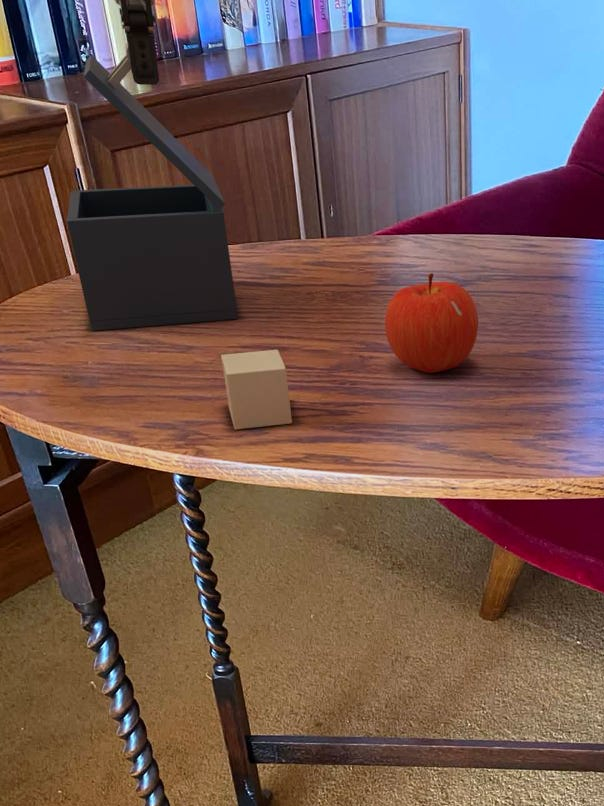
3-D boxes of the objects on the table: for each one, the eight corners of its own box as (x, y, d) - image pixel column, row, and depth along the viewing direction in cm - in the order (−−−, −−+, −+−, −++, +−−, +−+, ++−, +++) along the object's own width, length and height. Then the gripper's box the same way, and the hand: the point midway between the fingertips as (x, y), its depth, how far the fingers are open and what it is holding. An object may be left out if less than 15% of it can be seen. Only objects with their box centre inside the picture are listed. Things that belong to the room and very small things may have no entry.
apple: (496, 369, 85) (498, 275, 80) (422, 389, 80) (419, 292, 76) (442, 344, 90) (441, 255, 85) (369, 363, 86) (364, 270, 81)
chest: (91, 331, 92) (66, 220, 86) (93, 290, 102) (71, 190, 97) (238, 318, 95) (223, 212, 89) (225, 281, 106) (211, 183, 100)
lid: (83, 76, 80) (123, 27, 79) (85, 61, 91) (121, 17, 90) (219, 210, 89) (257, 167, 88) (207, 181, 100) (241, 143, 99)
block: (234, 430, 73) (226, 374, 71) (229, 408, 77) (220, 354, 74) (292, 423, 75) (286, 368, 72) (284, 402, 78) (278, 349, 75)
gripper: (65, -157, 82) (102, 72, 92) (58, -173, 71) (102, 89, 81) (155, -150, 84) (183, 73, 94) (163, -165, 73) (193, 90, 83)
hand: (145, 79), depth 88 cm, fingers closed on lid, 5 cm apart
